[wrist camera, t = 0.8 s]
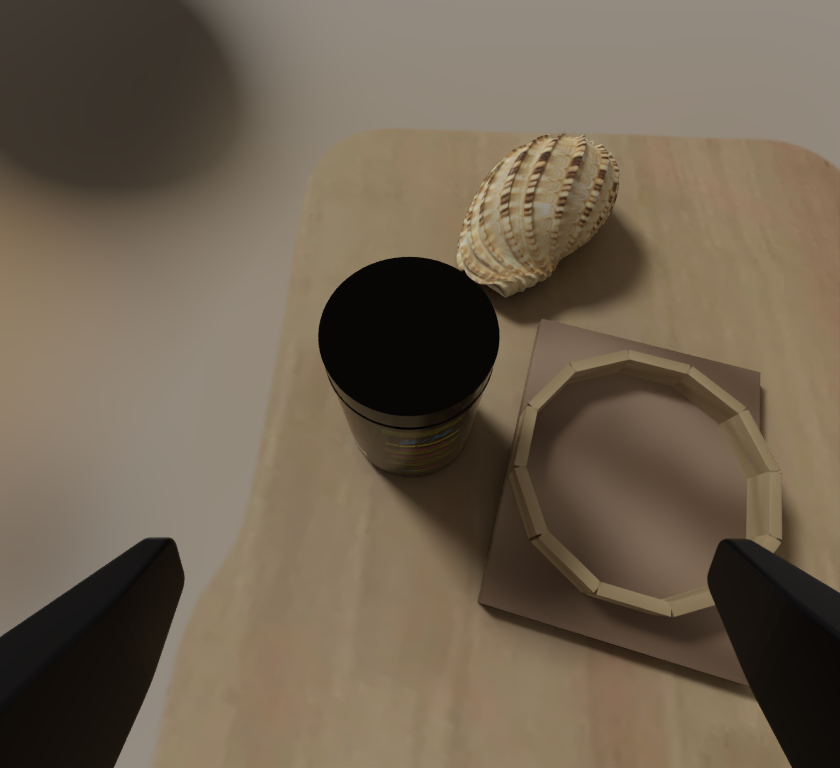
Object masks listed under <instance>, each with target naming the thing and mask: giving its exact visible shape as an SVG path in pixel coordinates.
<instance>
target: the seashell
mask: <svg viewBox="0 0 840 768" xmlns="http://www.w3.org/2000/svg"><path fill="white" fill-rule="evenodd" d="M585 138H586V137H585V134H584V135H582V136H581V137H576V138H572V137H571V136H570V137H568V138H567V137H566V134H565V132H564V133H562V134H561V135H559V136H557V137H555V138H553V137H552V136H551V135H550V134H547V135H545V136H544V135H543V136H541V137H538V138H536V139H534V140H533V141H531V142H530V143H529V144H528V145H523V146H520V147H518V148H516V149H514V150H513V151H511V152H510V153H509V154H508V155H507V156H506V157H505V158H504V159H503V160H502V161H501V162H500V163H499V164H497V165H496V167H495V168H494V169H493V170H492V171H491V172H490V173H489V174H488V175H487V177H486V178H485V179H484V181H483V182H482V184H481V186H480V188H479V189H478V191H477V193H476V195H475V197H474V200H473V202H472V204H471V206H470V208H469V210H468V212H467V215H466V218H465V220H464V223H463V226H462V230H461V234H460V239H459V243H458V248H457V263H458V267H459V270H460V271H461V272H462V271H464V270H465V272H466V274H467V276H469V277H470V278H471V279H472V280H473V281H475V282H477V283H479V284H486V285H487V286H489V287H490V288H492V289H493V290H495V291H496V292H498V293H499V294H501V295H502V296H503V297H505V298H506V297H508V296H511V295H513V294H514V293H516V292H523V291H524V290H525V289H526V288H527V287H532V286H534V285H536V283H537V282H539V281H544V280H546V278H547V277H551V276H552V271H554V270H556V265H557V264H558V263H559V261H560V260H561V259H562V258H563V257H565V256H567V255H569V254H571V253H572V252H574V251H575V250H576V249H578V248H579V247H581V246H582V245H584V244H585V243H587V242H588V241H589V240H590V239H591V238H592V237H594V236H595V235H596V234H597V233H598V231H599V230H600V229H601V227H602V226H603V224H604V223H605V222H606V220H607V218H608V216H609V215H610V213H611V211H612V209H613V206H614V204H615V201H616V198H617V194H618V188H619V167H618V166H617V163H616V161H615V159H614V158H613V157H612V156H611V153H609V154H608V152H607V150H606V149H605V148H604V147H603V146H602V145H603V144H601V145H598V146H595V144H594V142H593V141H589V139H585Z"/></svg>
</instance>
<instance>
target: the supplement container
mask: <svg viewBox="0 0 840 768" xmlns="http://www.w3.org/2000/svg"><path fill="white" fill-rule="evenodd" d="M318 341H319V349H320V354H321V358H322V361H323V363H324V366H325V368H326V372H327V375H328V378H329V380H330V383H331V385H332V387H333V389H334V391H335V393H336V394H337V396H338V399H339V401H340V404H341V407H342V409H343V412H344V414H345V417H346V419H347V422H348V424H349V427H350V429H351V432H352V434H353V437H354V439H355V442H356V444H357V446H358V448H359V449H360V451H361V452H362V454H363V455H364V456H365V457H366V458H367V459H368V460H369V461H370V462H371V463H372V464H373V465H375V466H376V467H378V468H379V469H381V470H383V471H385V472H388V473H391V474H394V475H398V476H404V477H417V476H424V475H428V474H431V473H434V472H436V471H438V470H440V469H442V468H444V467H445V466H447V465H448V464H449V463H451V462H452V461H453V460H454V459H455V458H456V457H457V456H458V454H459V453H460V452H461V450H462V449H463V447H464V445H465V443H466V441H467V439H468V436H469V433H470V430H471V427H472V424H473V421H474V418H475V415H476V412H477V409H478V407H479V404H480V401H481V398H482V395H483V392H484V390H485V388H486V386H487V384H488V382H489V379H490V376H491V374H492V370H493V365H494V362H495V360H496V357H497V353H498V348H499V325H498V320H497V316H496V313H495V310H494V308H493V306H492V304H491V302H490V300H489V298H488V297H487V295H486V294H485V292H484V291H483V290H482V289H481V288H480V286H479V285H478V284H477V283H476V282H475V281H473V280H472V279H471V278H470V277H469V276H467V275H466V274H464V273H463V272H461V271H460V270H458V269H456V268H454V267H452V266H450V265H448V264H445V263H442V262H439V261H436V260H432V259H427V258H420V257H399V258H392V259H386V260H383V261H379V262H376V263H373V264H371V265H368V266H366V267H364V268H362V269H360V270H359V271H357V272H355V273H354V274H352V275H351V276H350V277H348V278H347V279H346V280H345V281H344V282H343V283H342V284H341V285H340V286H339V287H338V288H337V289H336V290H335V291H334V293H333V294H332V295H331V297H330V299H329V300H328V302H327V304H326V306H325V308H324V310H323V313H322V316H321V320H320V324H319V333H318Z"/></svg>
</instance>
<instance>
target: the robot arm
mask: <svg viewBox="0 0 840 768" xmlns="http://www.w3.org/2000/svg"><path fill="white" fill-rule="evenodd" d="M707 584H708V588H709V591H710V593H711V596H712V598H713V601H714V603H715V606H716V608H717V610H718V613H719V615H720V618H721V620H722V622H723V625H724V627H725V630H726V632H727V635H728V637H729V639H730V642H731V644H732V647H733V649H734V652H735V654H736V656H737V659H738V661H739V664H740V666H741V668H742V671H743V673H744V675H745V677H746V680H747V682H748V684H749V686H750V688H751V690H752V692H753V694H754V696H755V698H756V700H757V702H758V704H759V706H760V708H761V710H762V711H763V713H764V715H765V717H766V719H767V721H768V723H769V725H770V727H771V729H772V731H773V732H774V734H775V736H776V738H777V740H778V742H779V744H780V746H781V748H782V750H783V752H784V753H785V755H786V757H787V759H788V761H789V763H790V765H791V767H792V768H840V593H839V592H837V591H836V590H834V589H832V588H831V587H829V586H827V585H826V584H824V583H822V582H821V581H819V580H817V579H816V578H814V577H812V576H811V575H809V574H807V573H806V572H804V571H802V570H801V569H799V568H797V567H796V566H794V565H792V564H791V563H789V562H787V561H786V560H784V559H782V558H781V557H779V556H777V555H776V554H774V553H772V552H771V551H769V550H767V549H766V548H764V547H762V546H761V545H759V544H757V543H756V542H754V541H752V540H750V539H745V538H726V539H722V540H721V541H720V542H719V544H718V546H717V548H716V551H715V554H714V557H713V560H712V562H711V565H710V568H709V571H708V574H707ZM183 587H184V571H183V567H182V564H181V560H180V556H179V553H178V549H177V546H176V543H175V541H174V540H173V539H172V538H169V537H150V538H146V539H144V540H142V541H140V542H139V543H137V544H136V545H134V546H133V547H131V548H130V549H129V550H127V551H125V552H124V553H123V554H121V555H120V556H118V557H117V558H115V559H114V560H112V561H111V562H109V563H108V564H106V565H105V566H104V567H102V568H101V569H99V570H98V571H96V572H95V573H93V574H92V575H90V576H89V577H87V578H86V579H84V580H83V581H81V582H80V583H79V584H77V585H76V586H74V587H73V588H71V589H70V590H68V591H67V592H65V593H64V594H62V595H61V596H60V597H58V598H57V599H55V600H54V601H52V602H51V603H49V604H48V605H46V606H45V607H43V608H42V609H40V610H39V611H38V612H36V613H35V614H33V615H32V616H30V617H29V618H27V619H26V620H24V621H23V622H21V623H20V624H18V625H17V626H16V627H14V628H13V629H11V630H10V631H8V632H7V633H5V634H4V635H2V636H1V637H0V768H114V766H115V764H116V762H117V759H118V757H119V755H120V753H121V750H122V748H123V746H124V744H125V741H126V739H127V737H128V735H129V732H130V730H131V728H132V726H133V724H134V721H135V719H136V717H137V715H138V712H139V710H140V708H141V706H142V703H143V701H144V699H145V696H146V694H147V692H148V689H149V687H150V684H151V682H152V679H153V676H154V673H155V671H156V668H157V665H158V662H159V659H160V656H161V653H162V650H163V647H164V644H165V641H166V638H167V635H168V632H169V629H170V626H171V623H172V620H173V617H174V614H175V611H176V608H177V605H178V602H179V599H180V596H181V593H182V590H183Z"/></svg>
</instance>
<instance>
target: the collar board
mask: <svg viewBox="0 0 840 768" xmlns="http://www.w3.org/2000/svg"><path fill="white" fill-rule="evenodd" d="M779 470H781V469H780V467H779V466H778V464H777V462H776V460H775V458H774V456H773V455H772V453H771V451H770V449H769V447H768V445H767V444H766V442H765V440H764V438H763V436H762V434H761V433H760V372H756V371H752V370H748V369H744V368H740V367H736V366H732V365H728V364H724V363H720V362H716V361H712V360H708V359H704V358H700V357H696V356H692V355H688V354H684V353H679V352H675V351H671V350H667V349H663V348H659V347H655V346H651V345H647V344H643V343H639V342H635V341H631V340H627V339H623V338H619V337H615V336H611V335H607V334H603V333H598V332H594V331H590V330H586V329H582V328H578V327H574V326H570V325H566V324H562V323H558V322H554V321H550V320H546V319H541V321H540V323H539V325H538V329H537V333H536V338H535V342H534V347H533V352H532V356H531V361H530V365H529V370H528V374H527V379H526V384H525V388H524V393H523V397H522V402H521V406H520V411H519V415H518V420H517V425H516V429H515V434H514V438H513V443H512V447H511V452H510V457H509V461H508V466H507V470H506V475H505V479H504V484H503V489H502V493H501V498H500V502H499V507H498V511H497V516H496V521H495V525H494V530H493V534H492V539H491V543H490V548H489V552H488V557H487V562H486V566H485V571H484V575H483V580H482V584H481V589H480V594H479V598H478V603H481V604H484V605H487V606H491V607H494V608H497V609H500V610H503V611H507V612H510V613H513V614H516V615H520V616H523V617H526V618H529V619H533V620H536V621H539V622H542V623H545V624H549V625H552V626H555V627H558V628H562V629H565V630H568V631H571V632H575V633H578V634H581V635H584V636H587V637H591V638H594V639H597V640H600V641H604V642H607V643H610V644H613V645H617V646H620V647H623V648H626V649H629V650H633V651H636V652H639V653H642V654H646V655H649V656H652V657H655V658H659V659H662V660H665V661H668V662H671V663H675V664H678V665H681V666H684V667H688V668H691V669H694V670H697V671H701V672H704V673H707V674H710V675H713V676H717V677H720V678H723V679H726V680H730V681H733V682H736V683H739V684H743V685H746V686H749V684H748V682H747V680H746V677H745V675H744V673H743V671H742V668H741V666H740V664H739V661H738V659H737V656H736V654H735V652H734V649H733V647H732V644H731V642H730V639H729V637H728V635H727V632H726V630H725V627H724V625H723V622H722V620H721V618H720V615H719V613H718V610H717V608H716V606H715V603H714V601H713V598H712V596H711V593H710V591H709V588H708V584H707V574H708V571H709V568H710V565H711V562H712V560H713V557H714V554H715V551H716V548H717V546H718V544H719V542H720V541H721V540H722V539H726V538H745V539H750V540H752V541H754V542H756V543H757V544H759V545H761V546H762V547H764V548H766V549H767V550H769V551H771V552H772V553H774V552H775V551H776V549H777V548H778V546H779V545H780V544H781V542H780V541H779V540H782V473H779V472H776V471H779Z"/></svg>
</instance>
